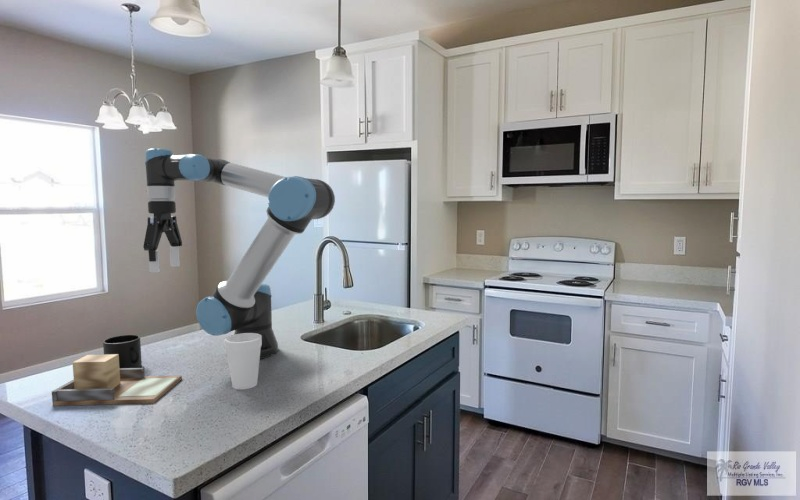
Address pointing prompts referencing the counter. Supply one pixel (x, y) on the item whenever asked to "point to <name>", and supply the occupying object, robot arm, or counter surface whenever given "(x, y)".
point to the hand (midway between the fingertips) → (165, 269)
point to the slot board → (118, 390)
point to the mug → (125, 350)
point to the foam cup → (243, 359)
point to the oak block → (96, 371)
